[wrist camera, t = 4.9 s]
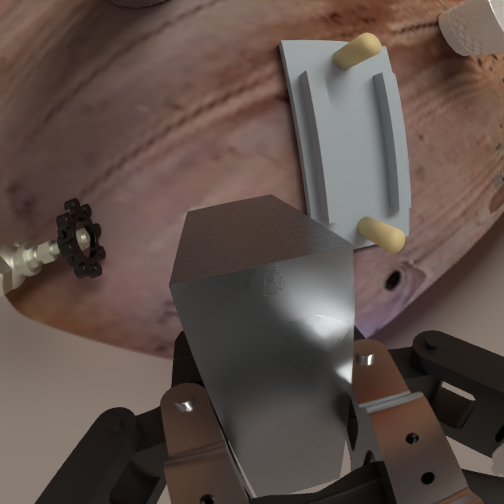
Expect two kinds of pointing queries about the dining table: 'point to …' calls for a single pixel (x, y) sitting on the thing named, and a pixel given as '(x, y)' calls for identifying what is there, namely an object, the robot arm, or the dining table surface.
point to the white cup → (474, 27)
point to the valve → (54, 249)
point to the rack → (350, 138)
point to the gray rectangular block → (270, 335)
